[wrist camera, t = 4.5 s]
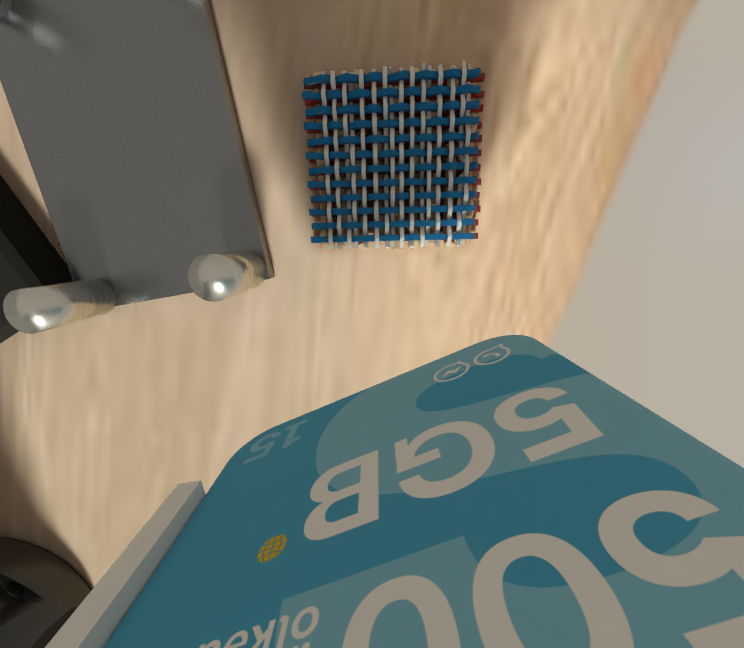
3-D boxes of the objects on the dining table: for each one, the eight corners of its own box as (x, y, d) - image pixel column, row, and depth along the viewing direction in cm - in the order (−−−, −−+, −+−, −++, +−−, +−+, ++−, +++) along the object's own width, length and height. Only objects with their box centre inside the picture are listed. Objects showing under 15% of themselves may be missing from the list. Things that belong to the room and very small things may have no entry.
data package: (517, 324, 14) (1305, 792, 2) (553, 423, 15) (1242, 1134, 3) (240, 438, 15) (-239, 1138, 3) (289, 523, 16) (49, 1310, 4)
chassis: (97, 314, 25) (12, 336, 20) (-19, -15, 21) (-175, -111, 15) (276, 282, 24) (241, 296, 19) (192, -70, 20) (112, -196, 14)
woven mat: (475, 248, 24) (483, 249, 22) (315, 252, 24) (309, 253, 22) (483, 69, 22) (493, 52, 20) (305, 77, 22) (297, 61, 20)
